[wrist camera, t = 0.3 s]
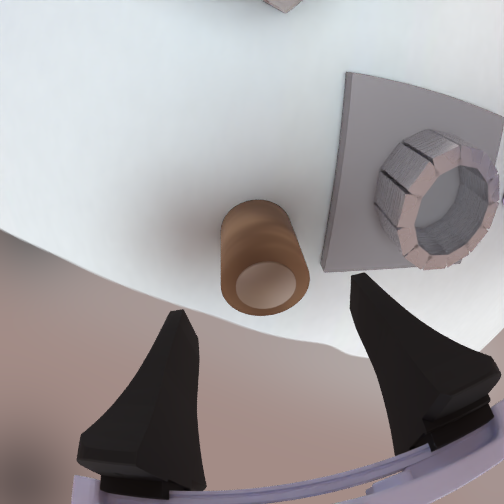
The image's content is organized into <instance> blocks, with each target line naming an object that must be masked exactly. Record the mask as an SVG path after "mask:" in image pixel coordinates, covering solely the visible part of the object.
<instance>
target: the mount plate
mask: <svg viewBox="0 0 504 504" xmlns="http://www.w3.org/2000/svg"><path fill="white" fill-rule="evenodd" d="M503 126H504V117H502V116H500V115H498V114H495V113H493V112H490V111H488V110H486V109H483V108H481V107H478V106H475V105H473V104H470V103H467V102H465V101H462V100H459V99H456V98H453V97H450V96H447V95H444V94H441V93H437V92H434V91H431V90H427V89H424V88H420V87H417V86H413V85H409V84H405V83H401V82H397V81H392V80H388V79H383V78H379V77H374V76H368V75H363V74H357V73H351V72H346V82H345V94H344V105H343V116H342V125H341V134H340V143H339V151H338V159H337V167H336V174H335V181H334V188H333V195H332V201H331V208H330V214H329V220H328V226H327V232H326V238H325V243H324V249H323V254H322V260H321V266H322V269H323V271H324V272H343V271H360V270H377V269H392V268H407V267H417V266H415V265H414V264H412V263H411V262H410V261H408V260H407V259H405V258H404V257H403V255H402V254H401V253H400V251H399V250H398V249H397V247H396V246H395V245H394V243H393V242H392V241H391V239H390V238H389V237H388V235H387V234H386V233H385V232H384V230H383V229H382V228H381V226H380V222H379V219H378V216H377V213H376V210H375V207H374V204H373V203H375V201H374V200H373V199H374V194H375V190H376V185H377V180H378V174H379V171H385V170H383V169H382V168H381V166H382V165H383V164H384V162H385V161H386V160H387V158H388V157H389V155H390V154H391V153H392V151H393V150H394V149H395V147H396V146H397V145H398V143H401V144H403V142H402V140H403V139H405V138H407V137H410V136H412V135H414V134H416V133H418V132H420V131H423V130H425V129H428V130H429V129H433V130H438V131H442V132H446V133H450V134H453V135H455V136H457V137H459V138H461V139H463V140H465V141H466V142H468V143H470V144H472V145H474V146H476V147H478V148H479V149H481V150H483V151H484V152H486V154H487V155H488V157H489V158H490V160H491V161H492V163H493V165H494V166H495V162H496V158H497V154H498V150H499V146H500V141H501V136H502V131H503ZM459 185H460V177H459V170H458V166H457V167H455V168H453V169H451V170H449V171H447V172H445V173H443V174H442V175H440V176H438V178H437V179H436V180H435V182H434V183H433V184H432V186H431V187H430V188H429V190H428V191H427V192H426V194H425V195H424V196H423V198H422V200H421V203H420V207H419V210H418V214H417V217H416V220H415V224H414V226H415V228H426V227H427V226H429V225H431V224H433V223H435V222H436V221H438V220H440V219H442V218H443V216H444V215H445V214H446V212H447V211H448V210H449V209H450V207H451V206H452V205H453V203H454V202H455V198H456V195H457V192H458V188H459ZM461 261H462V259H460V260H459V261H457V262H456V263H454V264H460V263H461Z"/></svg>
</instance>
